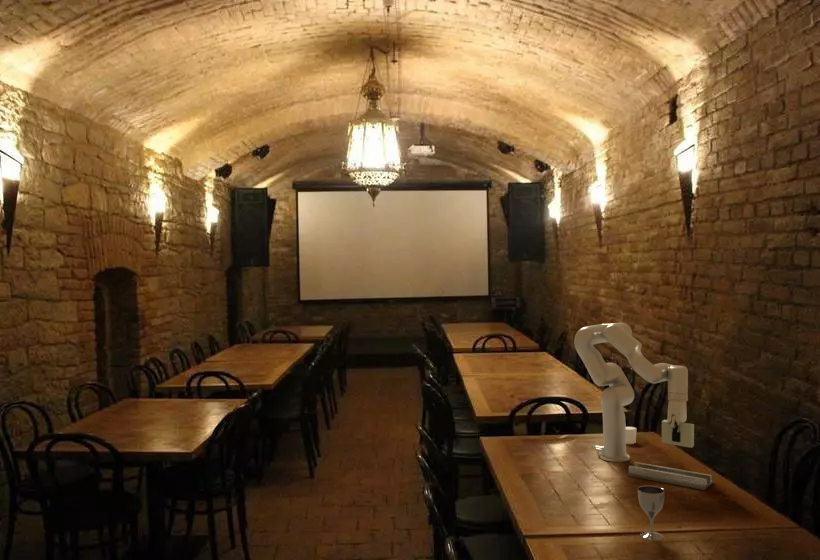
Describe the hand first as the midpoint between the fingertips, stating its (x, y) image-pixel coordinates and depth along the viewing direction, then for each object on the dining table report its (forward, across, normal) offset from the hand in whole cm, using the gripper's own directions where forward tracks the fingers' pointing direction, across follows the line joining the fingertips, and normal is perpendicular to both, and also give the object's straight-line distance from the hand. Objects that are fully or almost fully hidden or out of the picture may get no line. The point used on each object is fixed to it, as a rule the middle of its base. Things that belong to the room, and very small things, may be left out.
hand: (677, 440), depth 280 cm
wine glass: (+13, +70, +16) cm, 73 cm away
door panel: (+2, 0, 0) cm, 2 cm away
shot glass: (+14, -31, -33) cm, 47 cm away
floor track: (+13, +12, +1) cm, 18 cm away
